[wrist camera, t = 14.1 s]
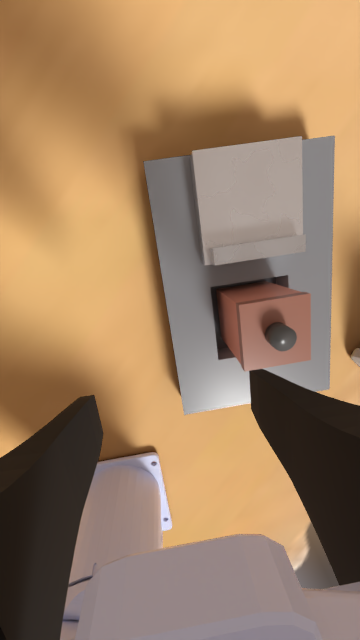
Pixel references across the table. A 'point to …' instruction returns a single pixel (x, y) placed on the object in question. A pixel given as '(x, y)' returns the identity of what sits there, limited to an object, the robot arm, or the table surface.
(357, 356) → the electrical switch
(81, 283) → the table surface
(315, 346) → the socket plate
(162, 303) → the table surface
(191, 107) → the table surface
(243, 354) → the plug
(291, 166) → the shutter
